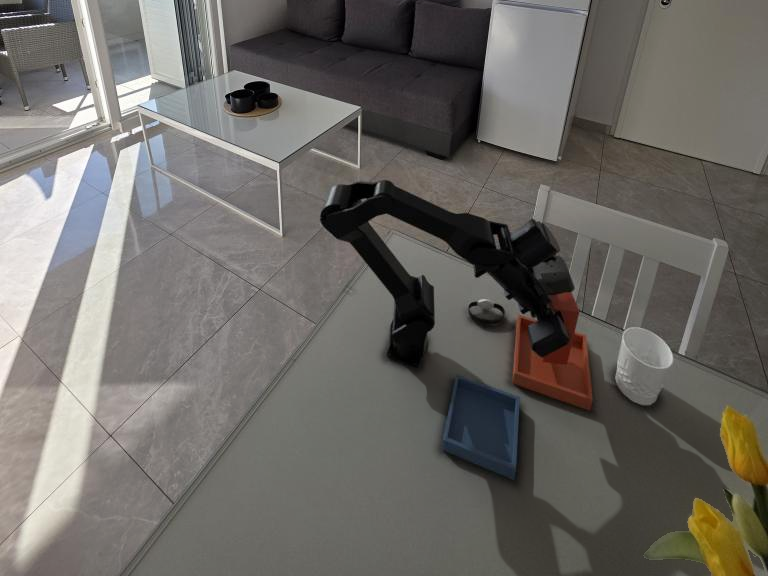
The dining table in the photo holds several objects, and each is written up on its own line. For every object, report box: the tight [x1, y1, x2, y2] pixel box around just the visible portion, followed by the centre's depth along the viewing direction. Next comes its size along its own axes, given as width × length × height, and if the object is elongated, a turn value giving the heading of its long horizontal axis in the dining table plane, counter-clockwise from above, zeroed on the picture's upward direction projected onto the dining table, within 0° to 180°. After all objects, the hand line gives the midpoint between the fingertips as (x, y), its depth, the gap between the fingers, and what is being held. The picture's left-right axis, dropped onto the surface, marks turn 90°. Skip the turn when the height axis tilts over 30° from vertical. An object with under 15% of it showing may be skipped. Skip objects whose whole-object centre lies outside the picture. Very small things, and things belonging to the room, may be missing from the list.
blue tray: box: [441, 374, 521, 481], centre depth 72 cm, size 11×11×2 cm
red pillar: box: [541, 291, 580, 365], centre depth 80 cm, size 4×4×13 cm
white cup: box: [614, 326, 674, 406], centre depth 78 cm, size 8×8×10 cm
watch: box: [467, 298, 506, 326], centre depth 92 cm, size 8×5×4 cm, turn 85°
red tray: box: [512, 314, 594, 411], centre depth 83 cm, size 13×13×3 cm
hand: (564, 327), depth 80 cm, fingers closed on red pillar, 4 cm apart
